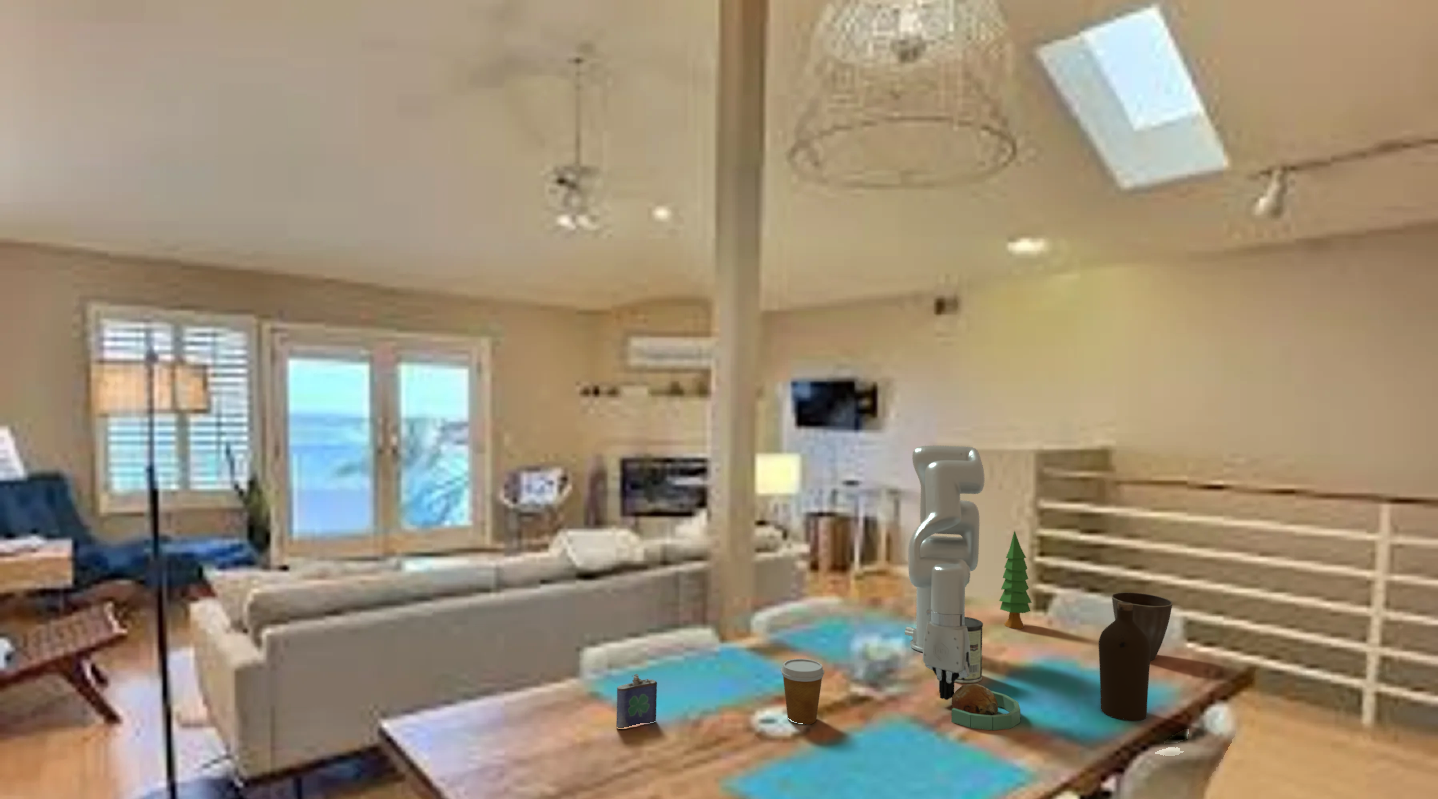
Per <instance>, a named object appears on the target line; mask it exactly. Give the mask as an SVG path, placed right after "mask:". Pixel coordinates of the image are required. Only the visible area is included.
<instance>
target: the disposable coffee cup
mask: <svg viewBox="0 0 1438 799" xmlns="http://www.w3.org/2000/svg"><path fill="white" fill-rule="evenodd" d="M780 672H781V675H782V678H783V687H784V697H785V706H786V715H787V719H788V718H789V719H791V720H792V721H794V722H797V723H803V724H807V725H812V724H814V723H815V722H817V715H818V711H819V703H820V696H821V695H820V694H821V687H822V681H823V680H822V679H823V677H824V675H825V670H824V667H823V664H822V663H821V662H818V661H817V660H814V659H808V658H794V659H793V658H792V659H788V660H786V661H784V662H783V663H782V667H781V668H780Z"/></svg>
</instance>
